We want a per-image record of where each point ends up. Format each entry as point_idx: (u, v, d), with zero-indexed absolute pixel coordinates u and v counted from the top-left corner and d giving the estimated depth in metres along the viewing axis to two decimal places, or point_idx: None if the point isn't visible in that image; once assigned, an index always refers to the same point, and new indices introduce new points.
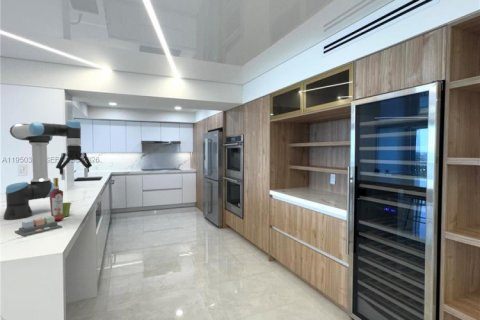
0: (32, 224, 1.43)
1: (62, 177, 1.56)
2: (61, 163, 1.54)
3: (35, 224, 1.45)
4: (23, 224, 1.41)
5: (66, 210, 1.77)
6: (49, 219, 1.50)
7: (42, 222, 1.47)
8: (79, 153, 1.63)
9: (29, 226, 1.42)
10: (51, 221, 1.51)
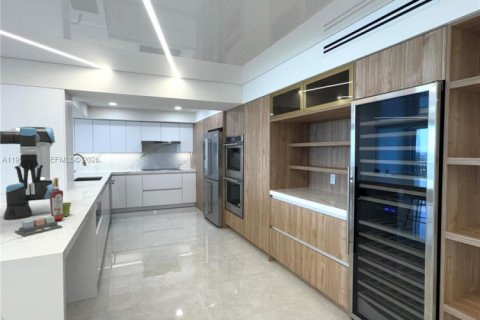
0: (32, 224, 1.43)
1: (26, 192, 1.48)
2: (21, 177, 1.45)
3: (35, 224, 1.45)
4: (23, 224, 1.41)
5: (66, 210, 1.77)
6: (49, 219, 1.50)
7: (42, 222, 1.47)
8: (35, 162, 1.51)
9: (29, 226, 1.42)
10: (51, 221, 1.51)
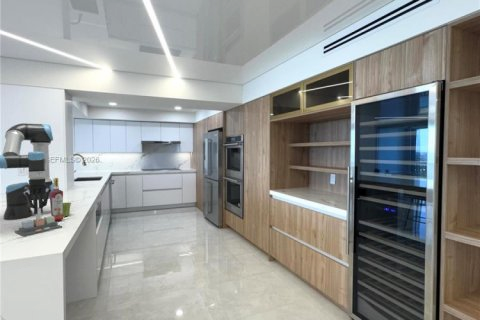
0: (32, 224, 1.43)
1: (37, 216, 1.47)
2: (31, 202, 1.43)
3: (35, 224, 1.45)
4: (23, 224, 1.41)
5: (66, 210, 1.77)
6: (49, 219, 1.50)
7: (42, 222, 1.47)
8: (44, 186, 1.48)
9: (29, 226, 1.42)
10: (51, 221, 1.51)
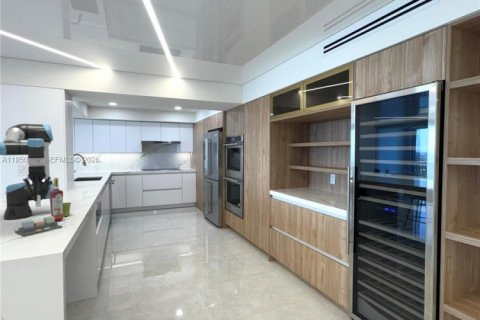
0: (32, 224, 1.43)
1: (36, 204, 1.46)
2: (31, 189, 1.43)
3: None
4: (23, 224, 1.41)
5: (66, 210, 1.77)
6: (49, 219, 1.50)
7: None
8: (44, 173, 1.48)
9: (29, 226, 1.42)
10: (51, 221, 1.51)
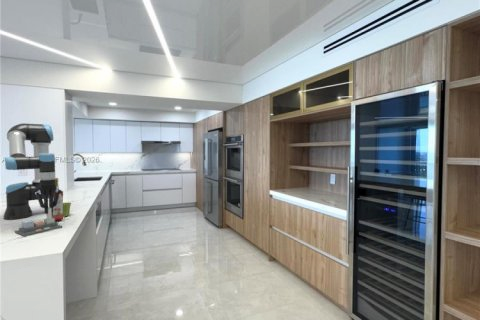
0: (32, 224, 1.43)
1: (47, 216, 1.51)
2: (42, 202, 1.48)
3: None
4: (23, 224, 1.41)
5: (66, 210, 1.77)
6: (49, 221, 1.50)
7: None
8: (54, 187, 1.53)
9: (29, 226, 1.42)
10: None
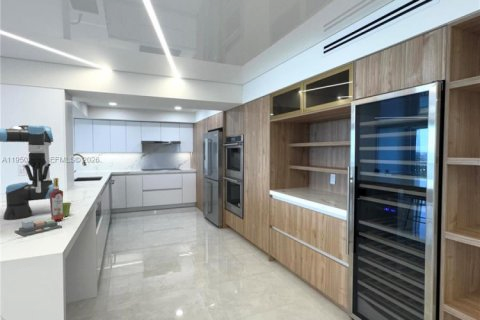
0: (32, 224, 1.43)
1: (36, 189, 1.50)
2: (31, 175, 1.47)
3: None
4: (23, 224, 1.41)
5: (66, 210, 1.77)
6: (49, 222, 1.50)
7: None
8: (44, 160, 1.52)
9: (29, 226, 1.42)
10: None
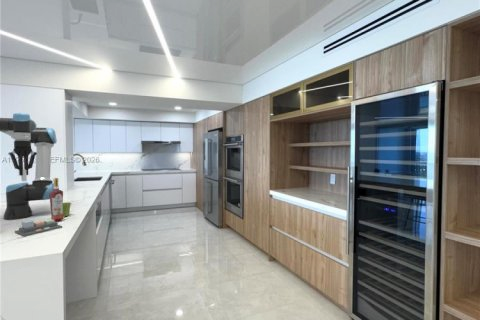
0: (32, 224, 1.43)
1: (22, 178, 1.48)
2: (16, 163, 1.44)
3: None
4: (23, 224, 1.41)
5: (66, 210, 1.77)
6: (49, 222, 1.50)
7: None
8: (29, 149, 1.50)
9: (29, 226, 1.42)
10: None
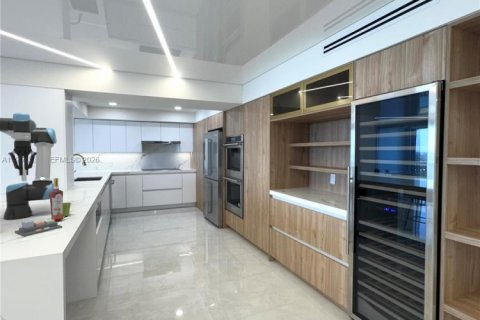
0: (32, 224, 1.43)
1: (22, 178, 1.48)
2: (16, 163, 1.44)
3: None
4: (23, 224, 1.41)
5: (66, 210, 1.77)
6: (49, 222, 1.50)
7: None
8: (29, 149, 1.50)
9: (29, 226, 1.42)
10: None
